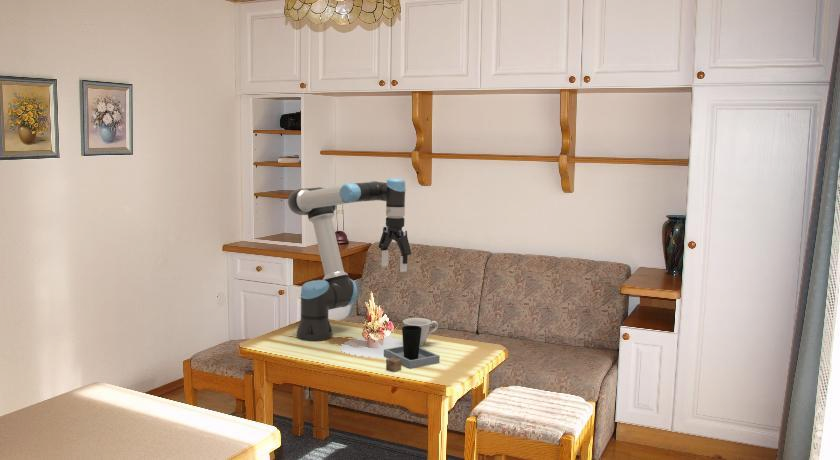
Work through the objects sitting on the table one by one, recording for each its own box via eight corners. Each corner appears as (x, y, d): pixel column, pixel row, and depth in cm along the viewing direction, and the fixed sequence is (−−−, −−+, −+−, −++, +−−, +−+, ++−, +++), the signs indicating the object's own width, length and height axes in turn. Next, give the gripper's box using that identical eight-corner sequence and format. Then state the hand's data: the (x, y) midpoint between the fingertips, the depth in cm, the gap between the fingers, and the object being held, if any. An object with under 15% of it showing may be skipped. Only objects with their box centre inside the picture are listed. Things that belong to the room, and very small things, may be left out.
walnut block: (386, 370, 287) (386, 359, 286) (392, 367, 290) (392, 357, 290) (394, 372, 285) (395, 362, 284) (401, 369, 288) (401, 359, 287)
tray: (383, 356, 304) (383, 349, 303) (412, 350, 312) (412, 344, 312) (409, 368, 289) (409, 361, 289) (439, 362, 298) (439, 355, 297)
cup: (418, 361, 296) (419, 331, 294) (399, 359, 298) (400, 329, 296) (422, 355, 304) (423, 326, 302) (403, 354, 305) (404, 324, 303)
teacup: (440, 347, 317) (441, 324, 316) (405, 349, 314) (406, 325, 312) (433, 339, 329) (434, 316, 328) (399, 341, 325) (400, 318, 324)
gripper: (370, 213, 317) (369, 264, 320) (405, 221, 297) (403, 274, 300) (386, 213, 322) (384, 263, 324) (420, 220, 302) (419, 273, 304)
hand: (393, 268), depth 312 cm, fingers open, 13 cm apart
